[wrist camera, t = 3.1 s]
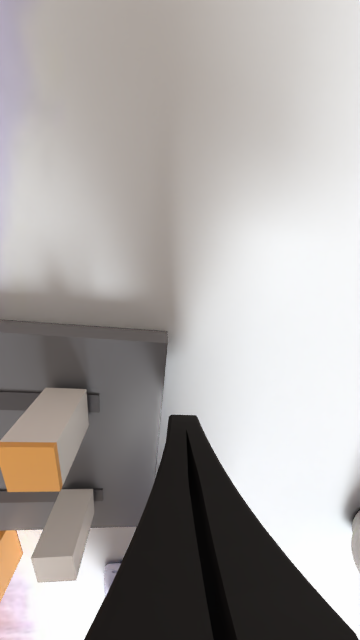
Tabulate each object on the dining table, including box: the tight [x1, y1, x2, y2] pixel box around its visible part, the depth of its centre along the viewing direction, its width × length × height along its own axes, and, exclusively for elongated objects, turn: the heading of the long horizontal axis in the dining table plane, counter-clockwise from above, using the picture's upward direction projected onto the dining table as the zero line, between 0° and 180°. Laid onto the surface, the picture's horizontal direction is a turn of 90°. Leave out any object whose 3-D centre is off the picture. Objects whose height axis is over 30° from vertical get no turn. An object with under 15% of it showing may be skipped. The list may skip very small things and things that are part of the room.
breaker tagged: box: [0, 388, 89, 492], centre depth 9 cm, size 2×2×3 cm
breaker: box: [31, 489, 94, 582], centre depth 12 cm, size 2×2×3 cm
